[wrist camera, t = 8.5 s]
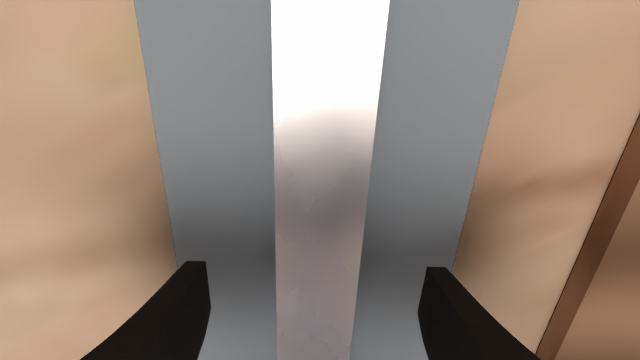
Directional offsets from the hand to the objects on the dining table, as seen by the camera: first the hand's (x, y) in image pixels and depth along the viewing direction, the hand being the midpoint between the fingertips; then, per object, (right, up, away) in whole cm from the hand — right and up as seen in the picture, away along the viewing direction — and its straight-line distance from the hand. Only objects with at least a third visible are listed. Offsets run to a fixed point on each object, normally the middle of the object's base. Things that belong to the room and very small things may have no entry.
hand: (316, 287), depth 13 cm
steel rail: (0, +1, +1) cm, 1 cm away
